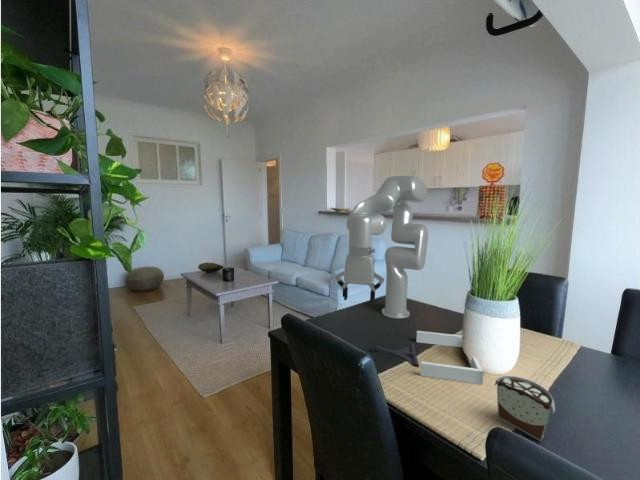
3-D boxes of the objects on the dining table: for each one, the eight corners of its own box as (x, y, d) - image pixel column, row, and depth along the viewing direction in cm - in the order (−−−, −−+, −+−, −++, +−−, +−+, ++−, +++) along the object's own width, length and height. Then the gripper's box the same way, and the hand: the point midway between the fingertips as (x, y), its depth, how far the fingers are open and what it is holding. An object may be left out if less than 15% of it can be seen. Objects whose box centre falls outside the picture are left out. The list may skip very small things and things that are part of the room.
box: (416, 340, 116) (416, 330, 115) (465, 346, 111) (466, 336, 111) (420, 375, 93) (421, 363, 93) (482, 384, 89) (483, 371, 88)
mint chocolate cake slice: (559, 433, 71) (564, 394, 69) (549, 446, 67) (554, 405, 66) (503, 404, 81) (506, 369, 79) (491, 413, 77) (495, 377, 76)
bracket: (372, 343, 115) (372, 336, 114) (413, 347, 112) (414, 339, 112) (372, 364, 101) (372, 356, 100) (418, 369, 98) (419, 361, 98)
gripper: (386, 250, 106) (384, 298, 108) (336, 248, 110) (336, 294, 112) (385, 254, 99) (383, 306, 101) (332, 252, 103) (332, 301, 105)
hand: (358, 300), depth 107 cm, fingers open, 8 cm apart
